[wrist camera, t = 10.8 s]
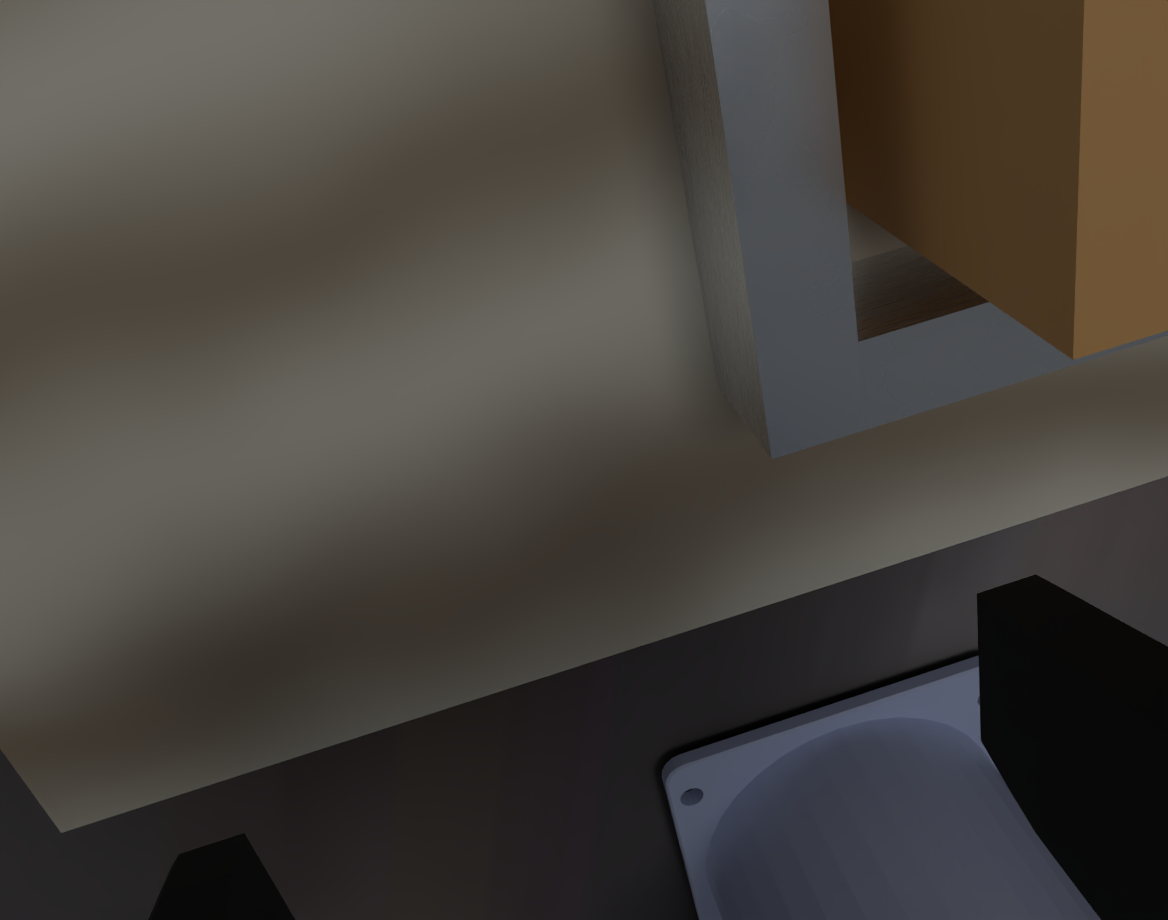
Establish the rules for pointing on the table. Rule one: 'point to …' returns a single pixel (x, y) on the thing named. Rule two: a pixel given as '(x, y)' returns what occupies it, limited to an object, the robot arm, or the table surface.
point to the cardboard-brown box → (1017, 152)
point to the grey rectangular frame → (811, 243)
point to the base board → (403, 385)
